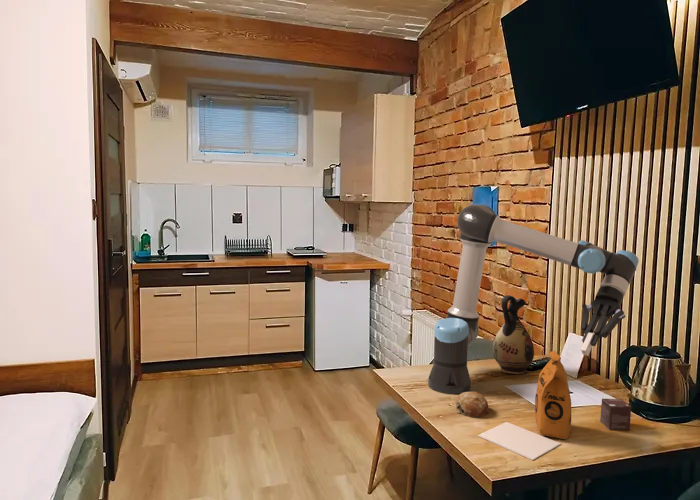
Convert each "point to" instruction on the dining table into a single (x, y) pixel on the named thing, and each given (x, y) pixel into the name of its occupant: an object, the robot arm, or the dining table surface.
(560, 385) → the coffee package
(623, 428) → the box
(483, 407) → the bread roll
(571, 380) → the dining table surface
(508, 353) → the ceramic jug
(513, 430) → the mat
